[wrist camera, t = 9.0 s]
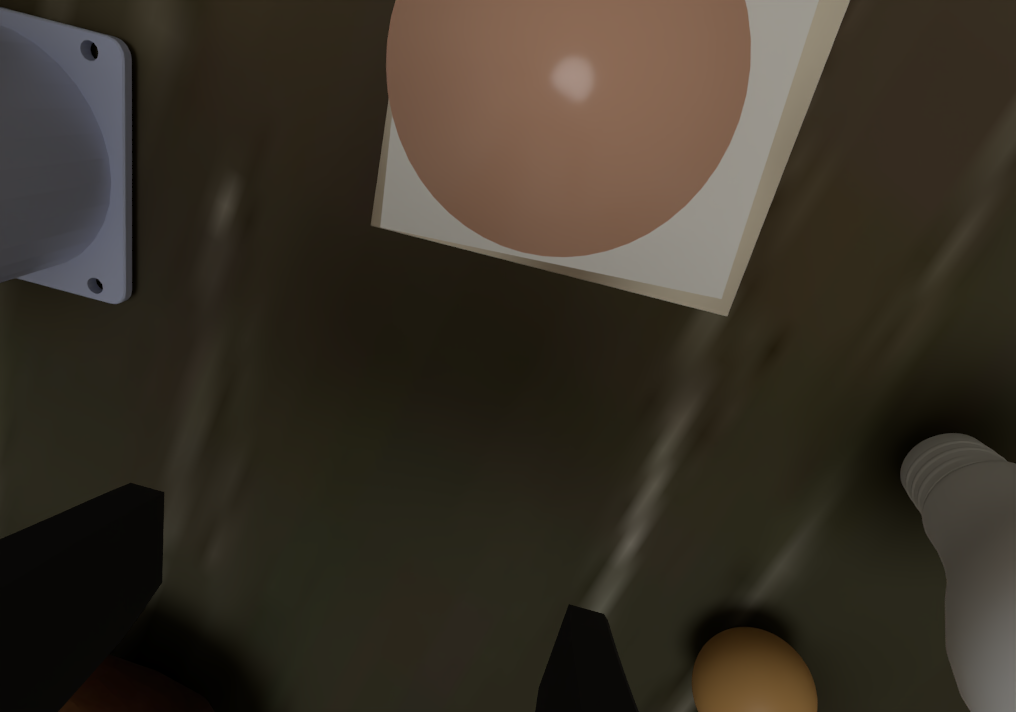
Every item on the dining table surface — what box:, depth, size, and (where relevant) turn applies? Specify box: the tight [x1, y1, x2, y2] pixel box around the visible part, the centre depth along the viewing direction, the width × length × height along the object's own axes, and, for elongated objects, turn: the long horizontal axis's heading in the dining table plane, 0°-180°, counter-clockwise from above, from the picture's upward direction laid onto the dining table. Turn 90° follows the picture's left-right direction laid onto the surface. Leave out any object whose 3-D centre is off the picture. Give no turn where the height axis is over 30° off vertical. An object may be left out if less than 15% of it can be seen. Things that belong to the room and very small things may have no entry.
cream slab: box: [380, 0, 819, 299], centre depth 14 cm, size 8×8×2 cm
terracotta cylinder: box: [386, 0, 751, 257], centre depth 11 cm, size 5×5×5 cm
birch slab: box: [371, 0, 850, 316], centre depth 17 cm, size 10×10×2 cm
